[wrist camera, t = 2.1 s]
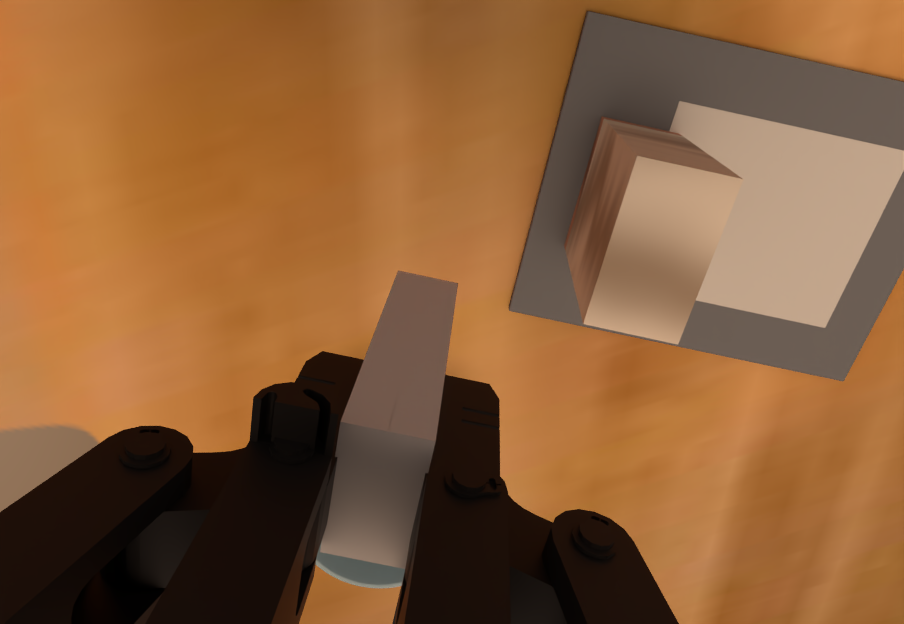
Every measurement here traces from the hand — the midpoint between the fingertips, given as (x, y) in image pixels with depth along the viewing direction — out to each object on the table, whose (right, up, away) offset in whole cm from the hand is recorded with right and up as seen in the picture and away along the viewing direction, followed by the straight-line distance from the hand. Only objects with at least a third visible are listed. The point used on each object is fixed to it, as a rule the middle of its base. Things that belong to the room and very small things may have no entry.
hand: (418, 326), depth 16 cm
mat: (+16, +6, +19) cm, 25 cm away
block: (+10, +7, +18) cm, 22 cm away
